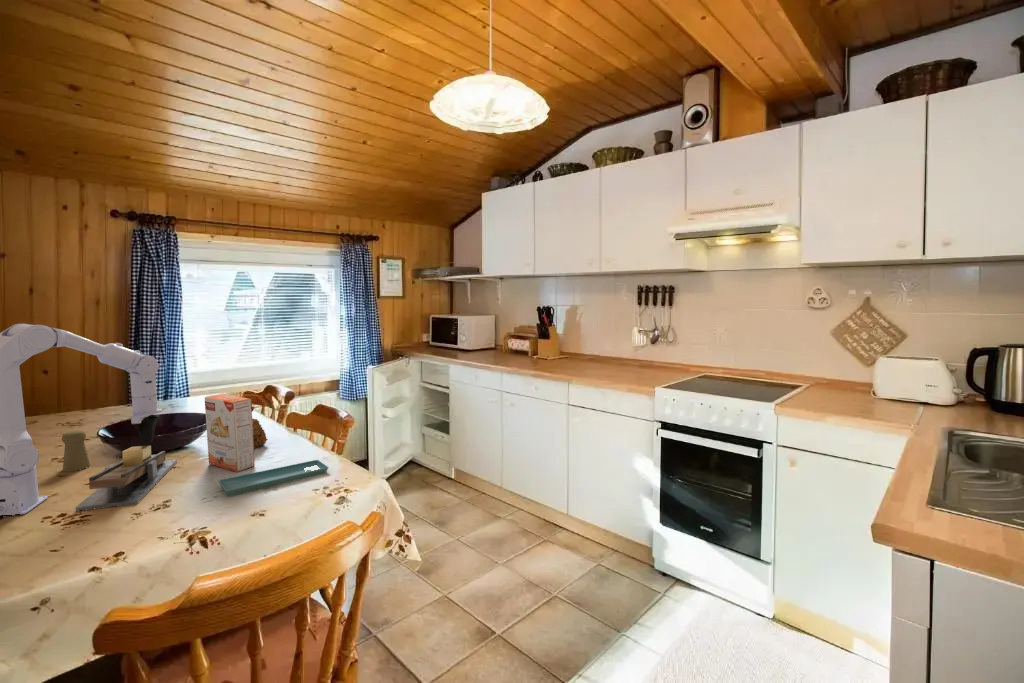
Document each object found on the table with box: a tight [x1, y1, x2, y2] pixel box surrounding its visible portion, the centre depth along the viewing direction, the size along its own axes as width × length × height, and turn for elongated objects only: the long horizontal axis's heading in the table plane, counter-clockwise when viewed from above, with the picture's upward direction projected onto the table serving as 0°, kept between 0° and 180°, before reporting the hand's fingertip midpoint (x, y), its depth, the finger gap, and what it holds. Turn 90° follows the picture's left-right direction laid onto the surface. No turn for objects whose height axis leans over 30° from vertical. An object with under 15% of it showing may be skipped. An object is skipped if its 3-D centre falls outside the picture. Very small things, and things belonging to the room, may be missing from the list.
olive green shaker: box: [61, 430, 91, 473], centre depth 139 cm, size 6×6×11 cm
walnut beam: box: [88, 450, 166, 490], centre depth 128 cm, size 28×7×3 cm, turn 20°
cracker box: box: [204, 393, 255, 473], centre depth 141 cm, size 14×6×21 cm, turn 62°
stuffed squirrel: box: [251, 405, 268, 449], centre depth 160 cm, size 10×14×13 cm
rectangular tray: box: [217, 459, 330, 497], centre depth 132 cm, size 26×9×2 cm, turn 132°
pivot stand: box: [75, 459, 178, 512], centre depth 128 cm, size 30×12×6 cm, turn 20°
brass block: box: [122, 445, 152, 466], centre depth 131 cm, size 6×4×4 cm
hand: (147, 441), depth 138 cm, fingers closed
